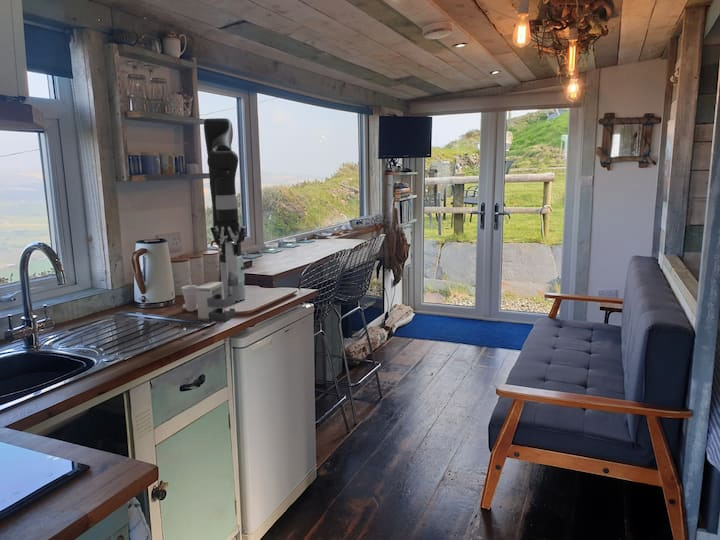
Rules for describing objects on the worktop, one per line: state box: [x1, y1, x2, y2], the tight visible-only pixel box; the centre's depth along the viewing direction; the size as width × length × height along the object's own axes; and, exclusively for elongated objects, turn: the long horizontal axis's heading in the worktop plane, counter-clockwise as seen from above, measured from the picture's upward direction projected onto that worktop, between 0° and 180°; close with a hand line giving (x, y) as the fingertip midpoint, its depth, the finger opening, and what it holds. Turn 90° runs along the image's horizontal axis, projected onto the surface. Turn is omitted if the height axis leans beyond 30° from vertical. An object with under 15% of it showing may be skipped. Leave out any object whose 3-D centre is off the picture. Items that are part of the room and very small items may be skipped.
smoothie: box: [180, 275, 199, 312], centre depth 217 cm, size 6×6×14 cm
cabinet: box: [196, 281, 236, 323], centre depth 207 cm, size 13×13×12 cm
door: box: [224, 242, 246, 286], centre depth 202 cm, size 4×10×16 cm, turn 166°
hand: (230, 253), depth 199 cm, fingers closed on door, 4 cm apart
